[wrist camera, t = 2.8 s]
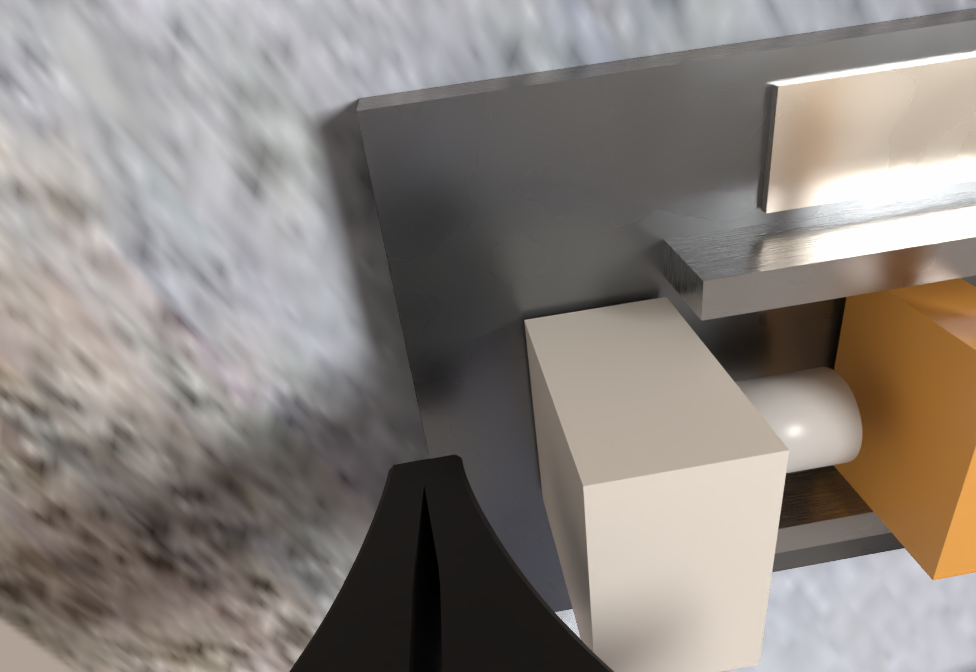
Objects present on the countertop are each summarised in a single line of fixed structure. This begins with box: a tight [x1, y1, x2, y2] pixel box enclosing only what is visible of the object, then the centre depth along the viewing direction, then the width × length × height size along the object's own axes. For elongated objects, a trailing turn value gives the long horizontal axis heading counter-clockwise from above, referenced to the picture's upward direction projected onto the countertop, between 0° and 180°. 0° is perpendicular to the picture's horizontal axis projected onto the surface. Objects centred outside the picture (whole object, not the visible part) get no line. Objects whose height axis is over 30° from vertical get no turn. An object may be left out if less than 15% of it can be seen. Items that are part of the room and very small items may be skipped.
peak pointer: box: [834, 278, 976, 580], centre depth 13 cm, size 2×9×4 cm, turn 7°
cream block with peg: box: [524, 297, 862, 672], centre depth 13 cm, size 6×5×5 cm
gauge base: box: [356, 8, 976, 612], centre depth 13 cm, size 21×14×7 cm, turn 97°
